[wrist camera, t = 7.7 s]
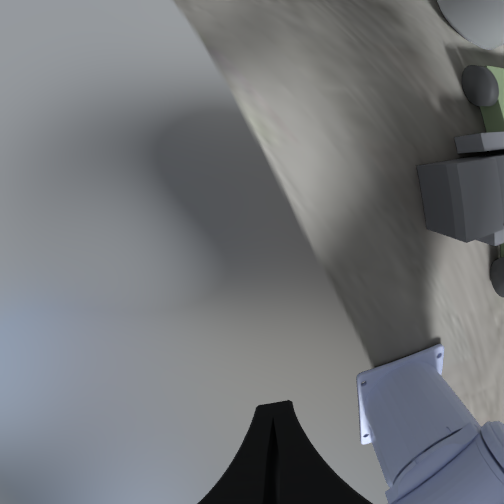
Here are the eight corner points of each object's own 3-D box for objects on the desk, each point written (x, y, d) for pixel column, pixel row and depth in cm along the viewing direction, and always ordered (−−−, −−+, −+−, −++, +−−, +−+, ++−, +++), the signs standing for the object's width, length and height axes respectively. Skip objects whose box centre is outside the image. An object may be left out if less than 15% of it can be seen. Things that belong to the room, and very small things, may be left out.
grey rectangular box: (497, 208, 17) (537, 216, 12) (426, 228, 18) (466, 242, 13) (490, 154, 16) (530, 153, 12) (416, 166, 17) (456, 163, 12)
